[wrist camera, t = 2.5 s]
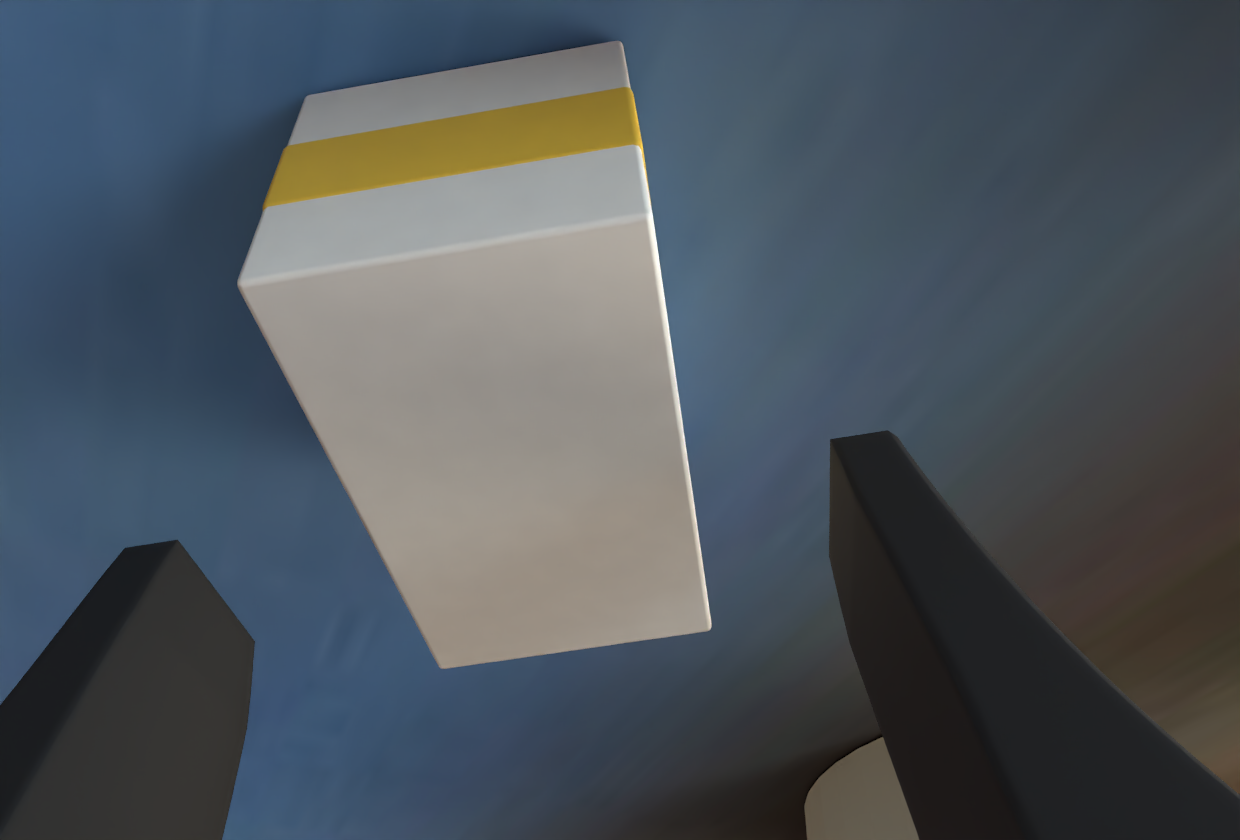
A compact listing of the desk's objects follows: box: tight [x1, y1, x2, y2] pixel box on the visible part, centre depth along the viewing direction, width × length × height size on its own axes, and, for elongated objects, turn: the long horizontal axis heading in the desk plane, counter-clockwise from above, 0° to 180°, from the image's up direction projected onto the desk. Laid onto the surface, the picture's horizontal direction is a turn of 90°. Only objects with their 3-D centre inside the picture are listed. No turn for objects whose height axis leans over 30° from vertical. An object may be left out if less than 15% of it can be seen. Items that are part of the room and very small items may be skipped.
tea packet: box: [237, 41, 712, 669], centre depth 13 cm, size 4×7×4 cm, turn 9°
